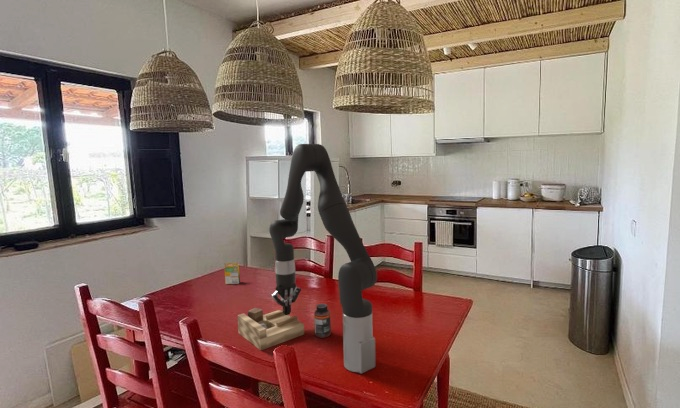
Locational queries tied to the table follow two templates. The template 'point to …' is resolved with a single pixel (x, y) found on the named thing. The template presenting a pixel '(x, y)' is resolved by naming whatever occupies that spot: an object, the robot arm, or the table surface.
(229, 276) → the crayon box
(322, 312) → the supplement bottle
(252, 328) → the wooden stepped tray
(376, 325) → the table surface
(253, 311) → the walnut cube
